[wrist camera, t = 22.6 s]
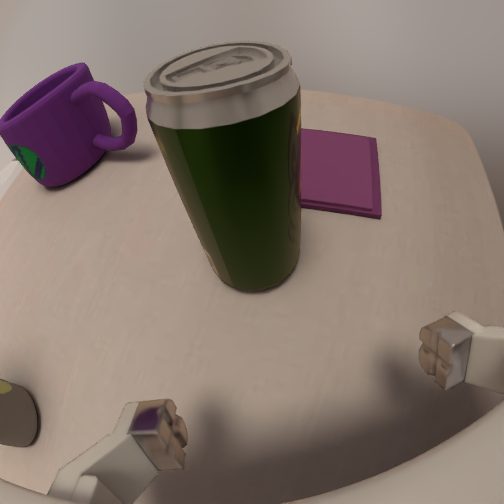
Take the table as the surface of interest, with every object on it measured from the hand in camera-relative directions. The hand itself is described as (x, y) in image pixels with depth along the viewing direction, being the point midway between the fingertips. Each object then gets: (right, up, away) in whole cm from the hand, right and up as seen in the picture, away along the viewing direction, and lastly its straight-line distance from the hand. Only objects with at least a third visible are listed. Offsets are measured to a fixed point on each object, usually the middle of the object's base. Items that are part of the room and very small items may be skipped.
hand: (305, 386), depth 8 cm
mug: (-19, +14, +19) cm, 30 cm away
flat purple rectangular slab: (+1, +11, +14) cm, 18 cm away
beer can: (-1, +4, +10) cm, 11 cm away
